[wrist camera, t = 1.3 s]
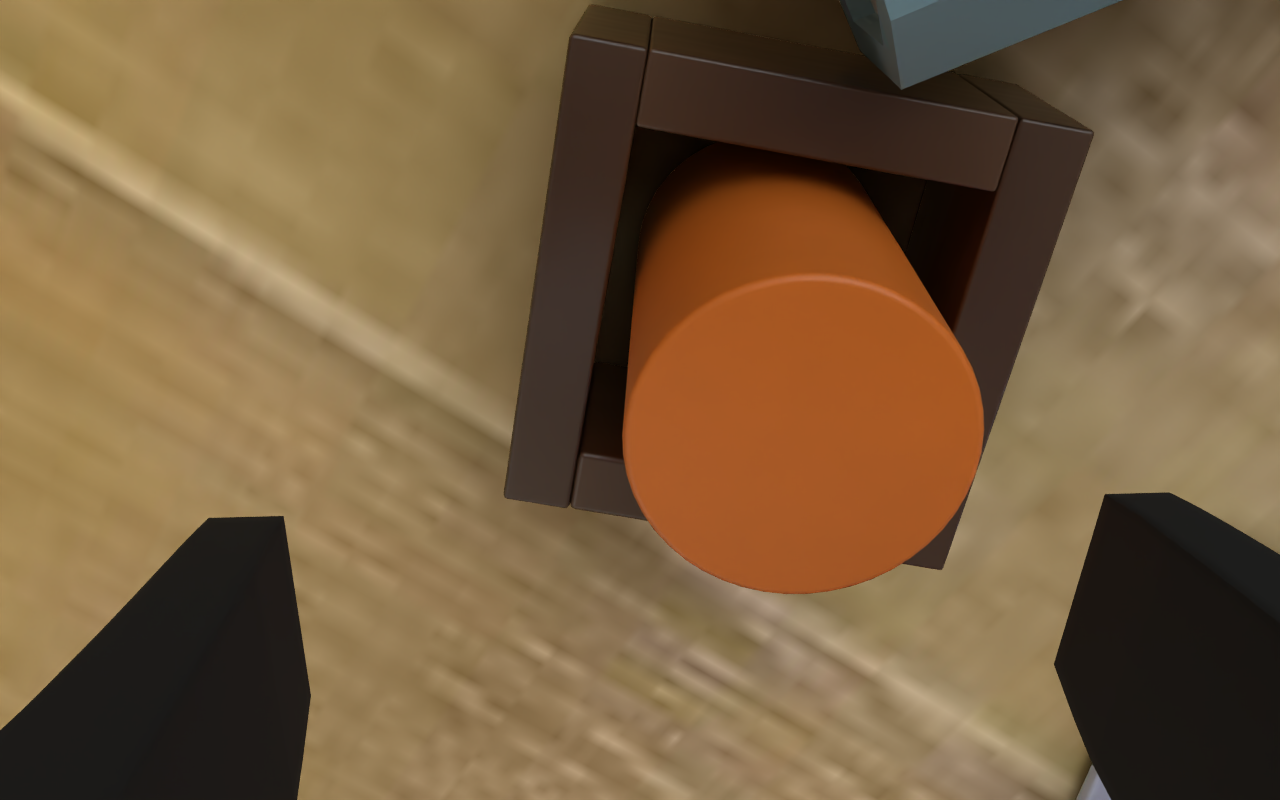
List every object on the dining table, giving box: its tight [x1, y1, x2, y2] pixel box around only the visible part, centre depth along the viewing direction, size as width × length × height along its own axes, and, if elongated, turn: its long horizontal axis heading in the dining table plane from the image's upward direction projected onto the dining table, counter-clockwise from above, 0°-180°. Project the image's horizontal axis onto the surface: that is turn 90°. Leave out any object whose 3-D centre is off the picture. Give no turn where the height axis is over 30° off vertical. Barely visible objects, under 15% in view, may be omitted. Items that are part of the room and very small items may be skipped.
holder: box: [504, 4, 1094, 570], centre depth 17 cm, size 7×7×4 cm
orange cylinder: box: [622, 142, 984, 594], centre depth 16 cm, size 4×4×7 cm
